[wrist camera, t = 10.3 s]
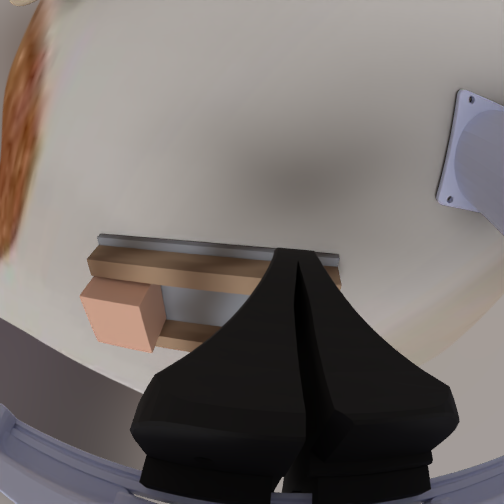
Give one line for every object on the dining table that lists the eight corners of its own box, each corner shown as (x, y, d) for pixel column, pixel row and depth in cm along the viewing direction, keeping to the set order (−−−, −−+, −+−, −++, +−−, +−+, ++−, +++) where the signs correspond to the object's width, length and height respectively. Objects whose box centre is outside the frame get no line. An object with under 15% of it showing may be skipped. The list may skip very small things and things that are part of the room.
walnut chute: (338, 254, 21) (343, 276, 19) (314, 347, 26) (315, 369, 24) (100, 233, 22) (84, 251, 20) (124, 323, 27) (115, 342, 25)
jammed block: (158, 271, 22) (138, 306, 19) (166, 317, 25) (152, 353, 22) (102, 264, 23) (79, 295, 19) (116, 309, 26) (98, 341, 22)
